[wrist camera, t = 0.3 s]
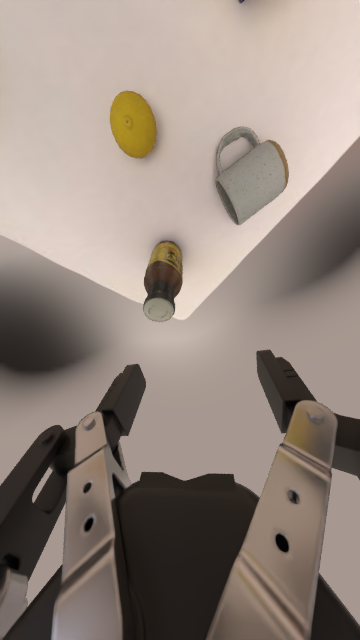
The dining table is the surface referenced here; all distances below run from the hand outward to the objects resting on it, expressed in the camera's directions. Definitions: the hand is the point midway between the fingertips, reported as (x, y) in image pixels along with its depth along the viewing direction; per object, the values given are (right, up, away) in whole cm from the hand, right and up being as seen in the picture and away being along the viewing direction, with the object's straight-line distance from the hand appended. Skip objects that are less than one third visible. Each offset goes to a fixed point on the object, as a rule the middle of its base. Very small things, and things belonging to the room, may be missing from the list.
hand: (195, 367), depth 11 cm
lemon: (-7, +31, +13) cm, 34 cm away
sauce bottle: (-4, +18, +25) cm, 31 cm away
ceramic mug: (+9, +27, +16) cm, 33 cm away
